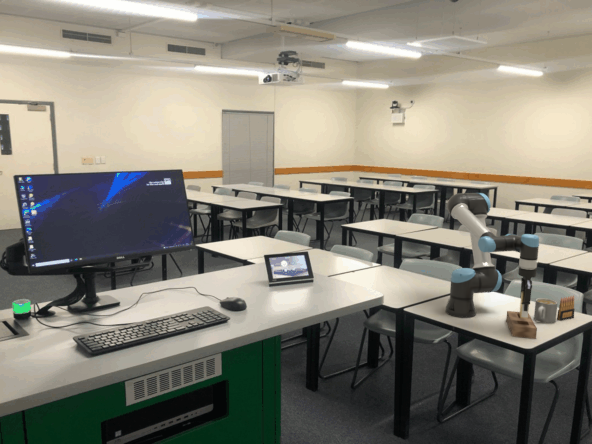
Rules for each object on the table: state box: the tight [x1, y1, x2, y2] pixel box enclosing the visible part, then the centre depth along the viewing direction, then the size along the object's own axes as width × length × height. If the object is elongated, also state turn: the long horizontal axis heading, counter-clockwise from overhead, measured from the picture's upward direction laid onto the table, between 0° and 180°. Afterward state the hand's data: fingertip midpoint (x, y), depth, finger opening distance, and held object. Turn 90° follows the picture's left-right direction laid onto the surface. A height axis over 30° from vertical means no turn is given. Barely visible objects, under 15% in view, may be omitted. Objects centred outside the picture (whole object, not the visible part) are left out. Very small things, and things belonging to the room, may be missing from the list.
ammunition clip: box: [556, 295, 575, 322], centre depth 257 cm, size 11×2×12 cm, turn 116°
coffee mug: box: [533, 297, 558, 324], centre depth 254 cm, size 13×10×10 cm
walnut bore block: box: [506, 310, 538, 339], centre depth 243 cm, size 10×22×5 cm, turn 165°
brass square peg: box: [519, 290, 530, 318], centre depth 236 cm, size 3×3×12 cm
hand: (523, 315), depth 237 cm, fingers closed on brass square peg, 3 cm apart
